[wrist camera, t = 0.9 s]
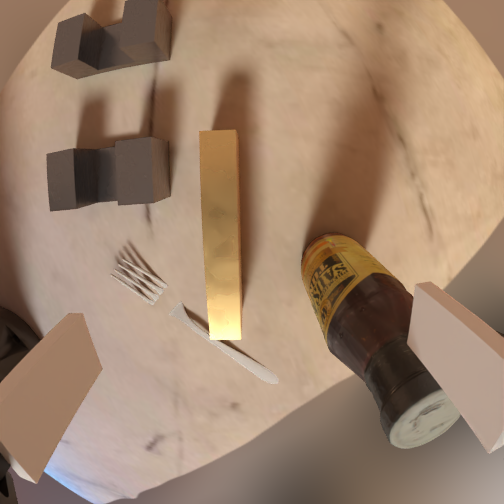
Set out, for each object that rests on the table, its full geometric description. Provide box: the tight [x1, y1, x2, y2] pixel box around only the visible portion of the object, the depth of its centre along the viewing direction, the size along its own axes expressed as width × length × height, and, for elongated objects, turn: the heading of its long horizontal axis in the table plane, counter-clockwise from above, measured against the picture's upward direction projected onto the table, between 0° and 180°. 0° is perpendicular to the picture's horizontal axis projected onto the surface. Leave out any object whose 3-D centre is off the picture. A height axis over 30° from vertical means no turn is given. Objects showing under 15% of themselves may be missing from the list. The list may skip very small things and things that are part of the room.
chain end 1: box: [51, 0, 172, 79], centre depth 20 cm, size 10×5×5 cm, turn 91°
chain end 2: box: [47, 137, 170, 211], centre depth 24 cm, size 10×5×5 cm, turn 91°
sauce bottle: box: [301, 233, 461, 449], centre depth 19 cm, size 7×6×20 cm
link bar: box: [199, 130, 243, 340], centre depth 25 cm, size 2×16×6 cm, turn 1°
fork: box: [110, 259, 279, 384], centre depth 30 cm, size 3×24×2 cm, turn 48°
